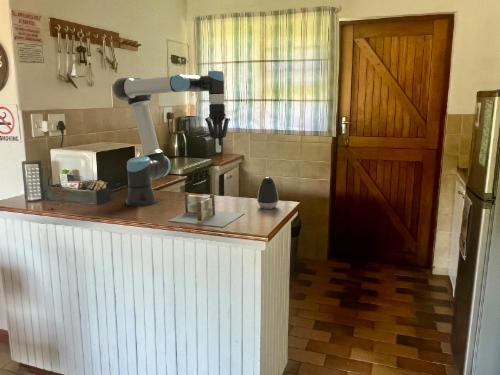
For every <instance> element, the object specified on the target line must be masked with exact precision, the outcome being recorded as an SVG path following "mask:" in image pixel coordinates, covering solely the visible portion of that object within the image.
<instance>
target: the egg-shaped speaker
mask: <svg viewBox="0 0 500 375" xmlns="http://www.w3.org/2000/svg"><path fill="white" fill-rule="evenodd" d="M276 186H277V185H276V183H275V181H274V179H273V178H272V177H269V176H266V177H263V178H262V180H261V181H260V184H259V187H258V192H257V198H256V201H257V204H258V206H259V207H260V208H262V209H264V210H272V209H274V208H275V207H277V205H278V202H279V194H278V189H277V187H276Z"/></svg>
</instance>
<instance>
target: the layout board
mask: <svg viewBox="0 0 500 375" xmlns="http://www.w3.org/2000/svg"><path fill="white" fill-rule="evenodd" d="M242 216H245V213H243V212H234V211H223V210H215V215H211V216H209V217H206V218H204V219H202V220H198V216H197V214H194V213H187V212H183V213H181V214H179V215H177V216H174V217H172V218H171V219H168V220H167V222H170V223H179V224H189V225H196V226H204V227H214V228H222V229H223V228H225V227H226V226H228V225H230V224H231V223H233V222H235V221H236V220H237V219H240V218H241V217H242Z"/></svg>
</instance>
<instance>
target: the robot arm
mask: <svg viewBox="0 0 500 375" xmlns="http://www.w3.org/2000/svg"><path fill="white" fill-rule="evenodd" d="M112 91H113V95H114V96H115V97H116V98H117V99H118V100H120V101H124V102H127V104H128V107H129V108H131V109H132V110H133V115H134V119H135V123H136V126H137V132H138V135H139V138H140V144H141V147H142V151H143V152H142V155H140V156H135V157H132V158H129V159H128V160H127V161H126V171H127V172H126V173H127V174H126V175H127V182H128V183H127V184H128V190H127V196H126V198H125V200H126V201H125V202H126V205H128V206H131V207H132V206H133V207H139V206H140V207H143V206H149V205H153V204H155V203H157V197H156V195H155V193H154V192H155V191H154V189H153V184H152V183H153V182H152V180H157V179H160V178H161V179H162V178H163V177H166V176H167V175H168V174H169V172H170V171H171V164H172V163H171V161H170V159H169V157H167V156H166V155H165V154H164V151H163V150H161V148H160V145H159V141H158V138H157V134H156V130H155V129H156V128H155V126H154V121H153V116H152V113H151V109H150V104H151V98H152V95H159V94H167V93H168V94H169V93H183V92H190V93H191V92H192V93H196V92H198V93H199V92H200V93H201V92H208V103H209V105H208V106H209V108H208V109H209V114H208V117H205V118H204V121H205V122H206V124H207V129H208V132H209V137H210V138H212V139H213V144H214V146H215V153H222V146H223V139H224V138H226V137H227V134H228V133H227V132H228V127H229V122H230V121H231V118H230V117H227V116H226V113H225V112H226V107H225V106H226V104H225V77H224V72H223V71H222V70H209V71H207V75H193V74H191V75H189V74H176V75H175V74H174V75H169V76H160V77H150V78H149V77H148V78H140V77H136V78H135V77H120V78H118V79H116V80H115V81H114V83H113V86H112Z"/></svg>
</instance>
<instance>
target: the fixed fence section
mask: <svg viewBox="0 0 500 375" xmlns="http://www.w3.org/2000/svg"><path fill="white" fill-rule="evenodd" d="M208 198H212V211H213V215H215V211H216V207H215V206H216V205H215V203H216V202H215V194H214V193H213V194H209V196H203V195H193V194H192V195H191V194H190V193H189V192H184V207H185V208H184V209H185V212H187V213H194V214H197V202H201V201H203V200H205V199H208ZM185 212H184V213H185Z"/></svg>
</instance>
